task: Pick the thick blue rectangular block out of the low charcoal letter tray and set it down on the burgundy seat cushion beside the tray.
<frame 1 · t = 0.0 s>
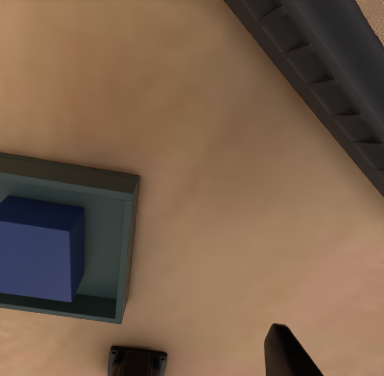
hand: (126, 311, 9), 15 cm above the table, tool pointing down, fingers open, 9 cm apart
magazine: (308, 64, 19), on the table
blue rectangular block: (49, 237, 26), point 1 cm above the table, touching document box
document box: (52, 233, 26), on the table
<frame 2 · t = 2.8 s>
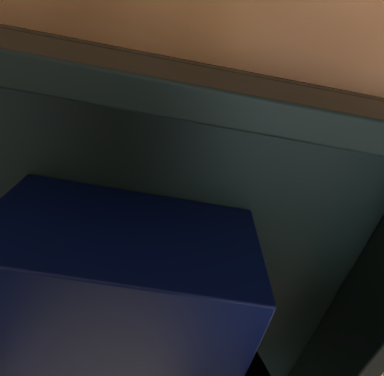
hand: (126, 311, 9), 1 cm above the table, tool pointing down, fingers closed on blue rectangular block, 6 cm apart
blue rectangular block: (131, 289, 10), point 1 cm above the table, touching document box, gripper
document box: (135, 275, 10), on the table
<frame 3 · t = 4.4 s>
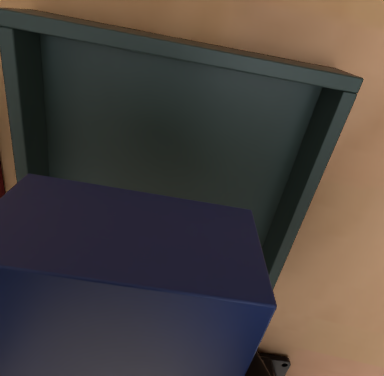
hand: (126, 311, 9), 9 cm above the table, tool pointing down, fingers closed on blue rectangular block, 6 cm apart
blue rectangular block: (131, 288, 10), point 8 cm above the table, touching gripper
document box: (168, 175, 17), on the table
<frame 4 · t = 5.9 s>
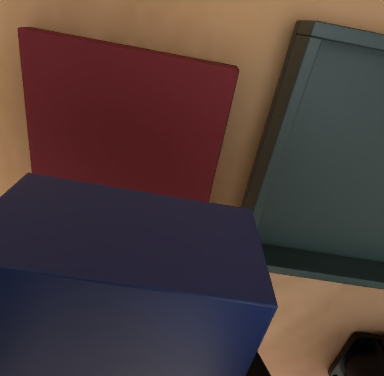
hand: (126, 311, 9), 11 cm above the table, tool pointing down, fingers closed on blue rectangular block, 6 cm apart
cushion: (127, 158, 19), on the table
blue rectangular block: (131, 288, 10), point 10 cm above the table, touching gripper
document box: (367, 169, 19), on the table
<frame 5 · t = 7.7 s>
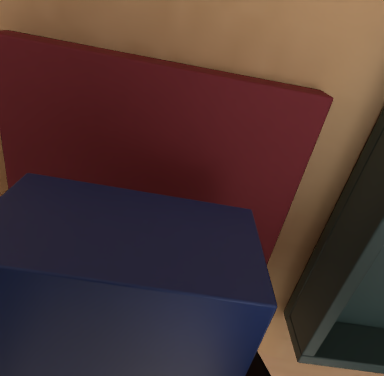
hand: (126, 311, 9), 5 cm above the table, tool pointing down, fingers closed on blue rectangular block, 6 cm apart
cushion: (149, 213, 14), on the table
blue rectangular block: (131, 288, 10), point 4 cm above the table, touching gripper
when the fingers open (2 cm above the table, at t = 9.1 s): blue rectangular block stays where it is, resting on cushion.
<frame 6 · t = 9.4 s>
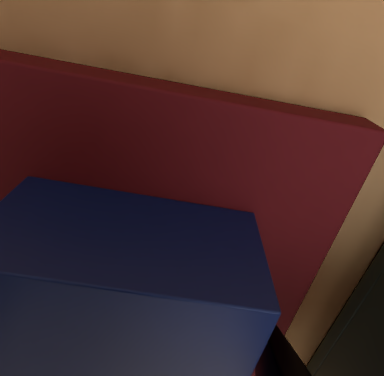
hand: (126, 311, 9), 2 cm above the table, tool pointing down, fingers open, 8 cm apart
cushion: (138, 266, 11), on the table
blue rectangular block: (132, 292, 10), point 1 cm above the table, touching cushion
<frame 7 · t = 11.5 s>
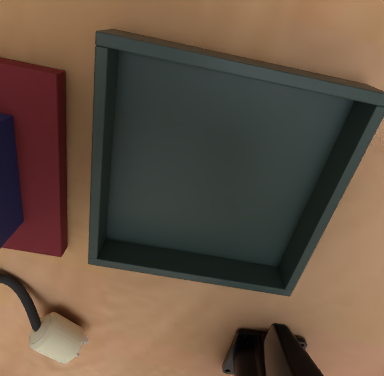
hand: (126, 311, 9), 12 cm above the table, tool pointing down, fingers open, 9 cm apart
document box: (213, 172, 20), on the table
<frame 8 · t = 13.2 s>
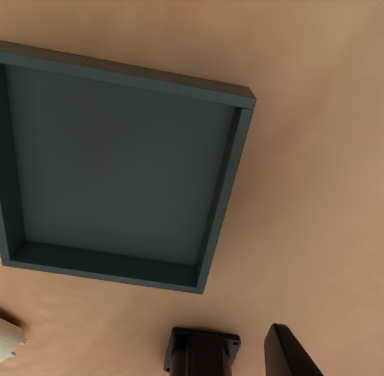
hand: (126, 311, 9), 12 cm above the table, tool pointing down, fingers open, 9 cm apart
document box: (119, 175, 20), on the table
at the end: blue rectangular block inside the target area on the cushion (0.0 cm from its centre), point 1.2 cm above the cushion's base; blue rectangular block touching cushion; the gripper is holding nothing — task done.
